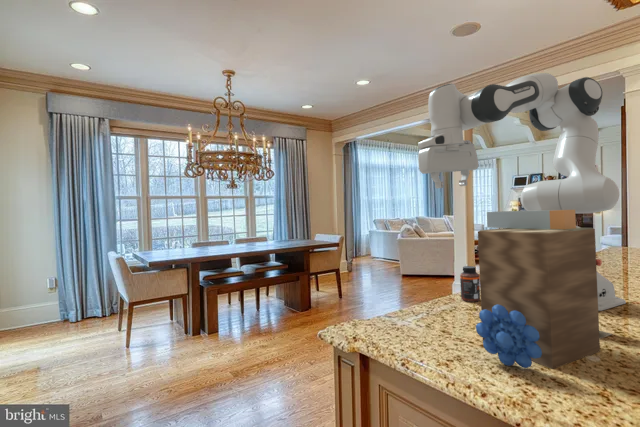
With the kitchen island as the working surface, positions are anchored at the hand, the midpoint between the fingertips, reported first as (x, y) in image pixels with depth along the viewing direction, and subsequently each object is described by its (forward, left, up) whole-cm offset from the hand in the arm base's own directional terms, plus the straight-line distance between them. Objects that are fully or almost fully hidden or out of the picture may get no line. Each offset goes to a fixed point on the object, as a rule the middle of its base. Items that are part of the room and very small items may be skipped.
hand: (451, 187), depth 105 cm
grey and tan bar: (-4, +23, -12) cm, 26 cm away
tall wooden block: (-1, +27, -38) cm, 47 cm away
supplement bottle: (-14, -12, -38) cm, 42 cm away
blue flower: (+13, +33, -38) cm, 52 cm away
